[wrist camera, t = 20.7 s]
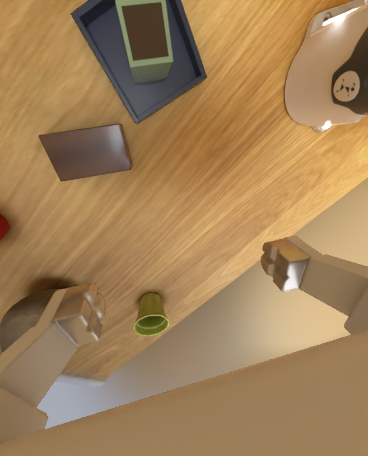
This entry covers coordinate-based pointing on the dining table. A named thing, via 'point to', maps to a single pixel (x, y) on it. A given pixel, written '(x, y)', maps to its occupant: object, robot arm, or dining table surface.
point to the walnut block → (88, 152)
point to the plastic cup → (3, 226)
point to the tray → (119, 64)
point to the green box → (146, 38)
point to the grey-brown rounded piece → (23, 317)
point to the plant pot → (151, 316)
